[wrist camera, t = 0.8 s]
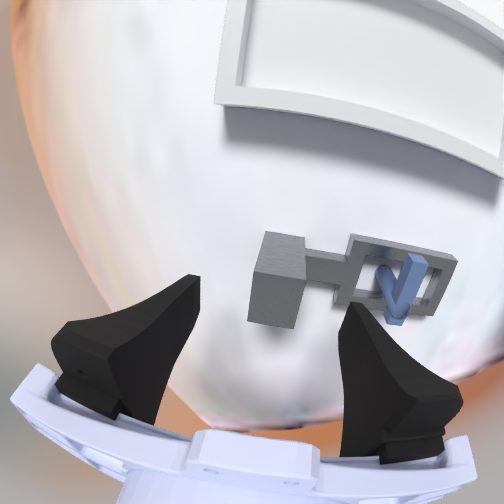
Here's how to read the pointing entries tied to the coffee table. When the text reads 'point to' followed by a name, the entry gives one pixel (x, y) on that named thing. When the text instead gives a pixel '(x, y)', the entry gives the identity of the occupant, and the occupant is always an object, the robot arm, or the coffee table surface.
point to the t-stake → (401, 287)
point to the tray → (372, 69)
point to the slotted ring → (332, 276)
